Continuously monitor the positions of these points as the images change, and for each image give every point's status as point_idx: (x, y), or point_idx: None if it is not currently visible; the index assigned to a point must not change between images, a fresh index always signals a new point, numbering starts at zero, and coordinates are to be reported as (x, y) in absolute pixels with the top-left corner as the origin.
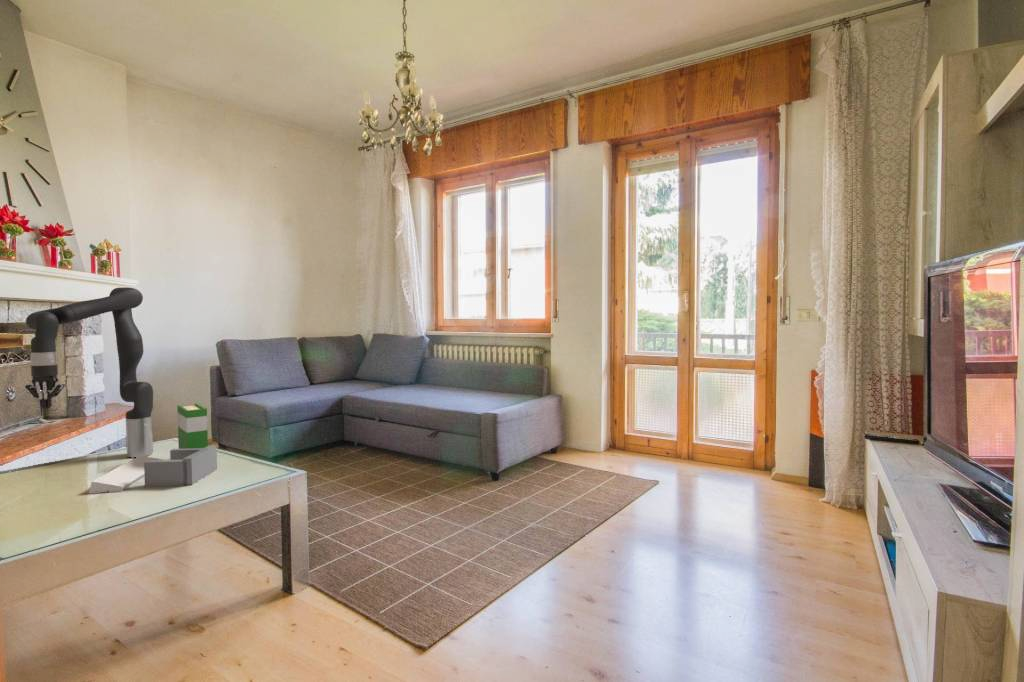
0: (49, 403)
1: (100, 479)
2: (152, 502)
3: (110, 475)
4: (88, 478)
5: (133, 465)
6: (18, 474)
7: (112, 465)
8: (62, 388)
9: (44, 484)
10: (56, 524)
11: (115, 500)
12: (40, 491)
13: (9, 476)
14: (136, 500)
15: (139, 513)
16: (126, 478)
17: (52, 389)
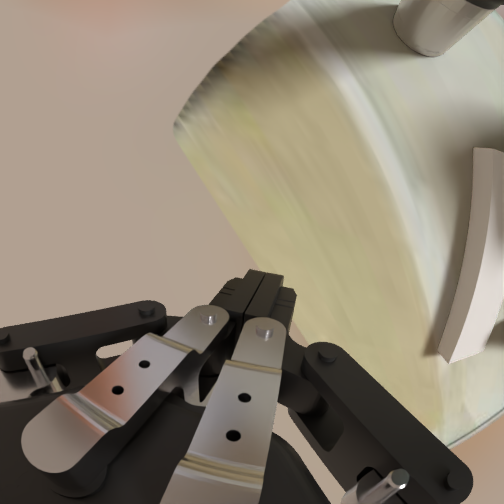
0: (289, 328)
1: (458, 348)
2: (500, 390)
3: (471, 322)
4: (410, 241)
5: (497, 237)
6: (205, 154)
7: (412, 118)
8: (434, 446)
9: (330, 266)
10: None
11: (469, 382)
12: (348, 317)
13: (196, 169)
14: (488, 383)
15: (483, 415)
16: (489, 317)
17: (271, 414)
